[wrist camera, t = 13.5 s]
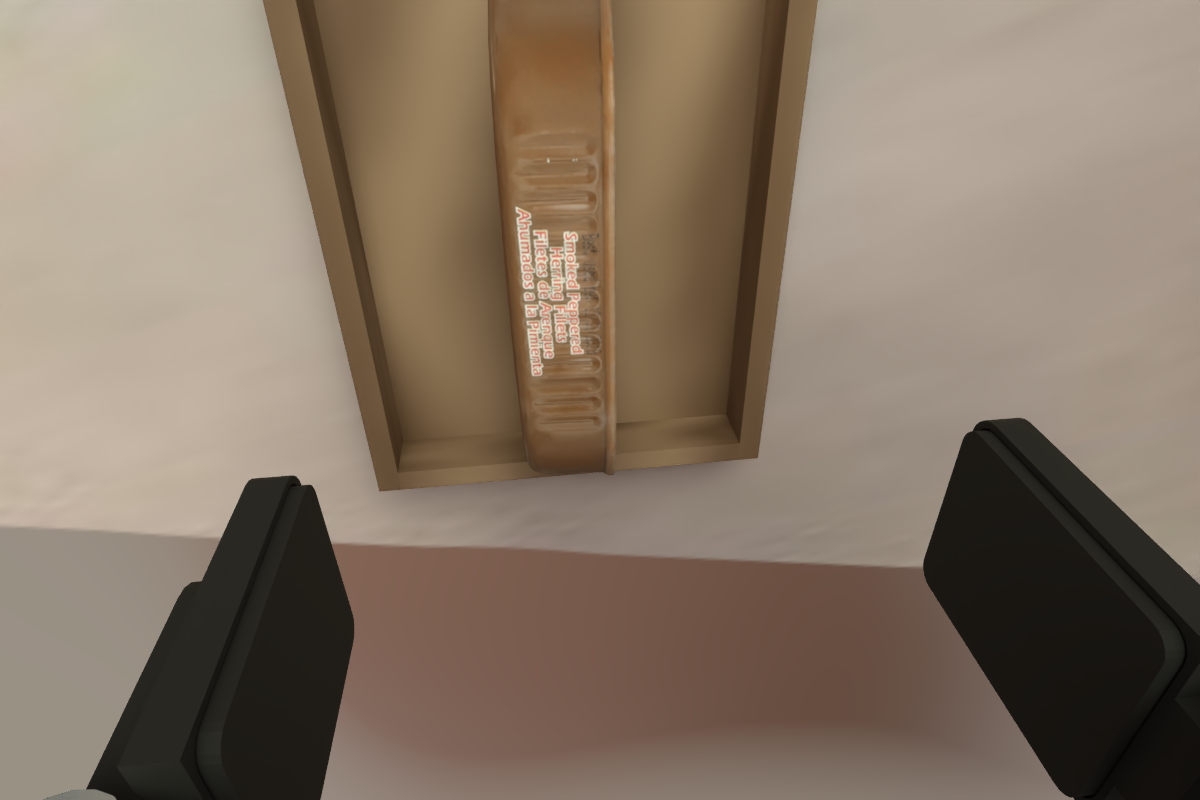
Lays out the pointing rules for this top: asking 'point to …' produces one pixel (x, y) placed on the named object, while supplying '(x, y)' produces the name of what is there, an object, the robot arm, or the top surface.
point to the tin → (558, 222)
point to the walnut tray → (474, 235)
